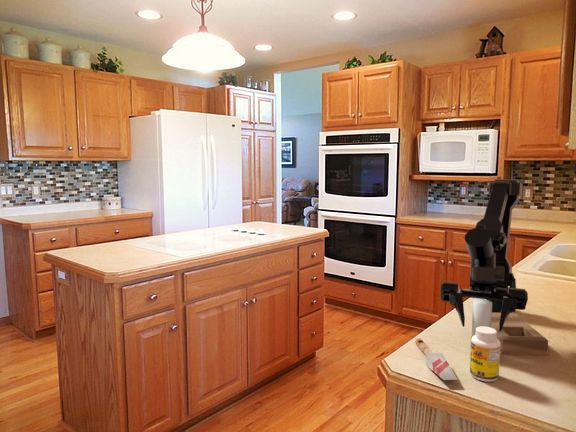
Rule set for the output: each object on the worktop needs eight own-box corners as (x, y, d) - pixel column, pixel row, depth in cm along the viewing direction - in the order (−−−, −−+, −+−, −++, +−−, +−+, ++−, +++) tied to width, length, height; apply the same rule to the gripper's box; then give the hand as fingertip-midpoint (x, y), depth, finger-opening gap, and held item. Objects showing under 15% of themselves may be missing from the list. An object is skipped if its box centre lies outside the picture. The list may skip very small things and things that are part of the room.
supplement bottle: (464, 371, 93) (466, 325, 92) (487, 368, 94) (489, 323, 93) (480, 384, 88) (482, 336, 86) (504, 381, 89) (507, 333, 87)
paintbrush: (441, 372, 86) (411, 336, 106) (441, 386, 87) (411, 347, 107) (460, 372, 86) (427, 336, 106) (460, 385, 87) (426, 346, 107)
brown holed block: (475, 324, 119) (476, 312, 118) (513, 325, 118) (514, 312, 117) (502, 353, 101) (503, 339, 100) (547, 354, 100) (548, 340, 100)
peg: (467, 349, 104) (470, 298, 102) (486, 349, 103) (488, 299, 102) (473, 357, 99) (476, 304, 98) (492, 357, 99) (495, 305, 97)
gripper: (442, 249, 105) (437, 307, 97) (529, 255, 98) (532, 318, 90) (443, 272, 114) (438, 328, 105) (523, 279, 107) (526, 339, 98)
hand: (481, 328), depth 99 cm, fingers open, 7 cm apart
